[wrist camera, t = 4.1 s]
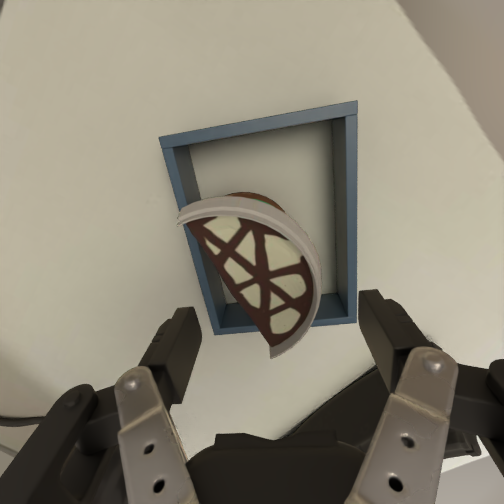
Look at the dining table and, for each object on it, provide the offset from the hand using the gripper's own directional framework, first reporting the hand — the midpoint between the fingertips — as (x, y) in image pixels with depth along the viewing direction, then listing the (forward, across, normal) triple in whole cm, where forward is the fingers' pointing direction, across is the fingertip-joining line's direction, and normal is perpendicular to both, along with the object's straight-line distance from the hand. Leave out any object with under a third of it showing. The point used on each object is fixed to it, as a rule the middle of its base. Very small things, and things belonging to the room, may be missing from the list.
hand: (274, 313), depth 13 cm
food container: (+13, 0, 0) cm, 13 cm away
